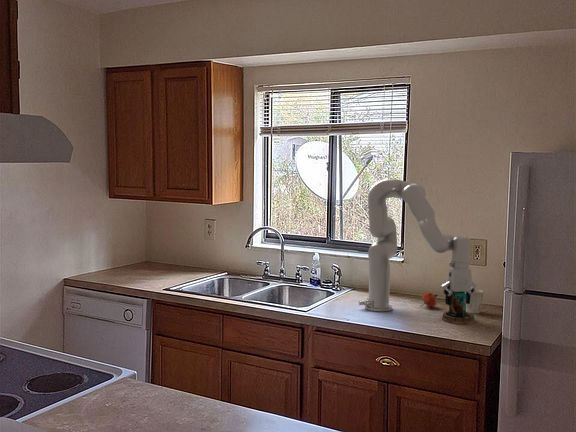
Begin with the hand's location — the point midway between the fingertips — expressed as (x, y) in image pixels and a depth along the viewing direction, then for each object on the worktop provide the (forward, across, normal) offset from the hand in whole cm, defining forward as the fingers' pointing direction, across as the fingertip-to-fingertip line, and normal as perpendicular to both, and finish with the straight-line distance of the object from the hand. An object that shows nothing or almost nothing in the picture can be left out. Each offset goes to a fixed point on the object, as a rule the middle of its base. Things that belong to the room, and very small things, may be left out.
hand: (457, 303), depth 276 cm
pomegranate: (+8, 0, +23) cm, 24 cm away
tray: (+7, 0, 0) cm, 7 cm away
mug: (+7, +14, +12) cm, 20 cm away
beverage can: (+6, 0, 0) cm, 7 cm away
